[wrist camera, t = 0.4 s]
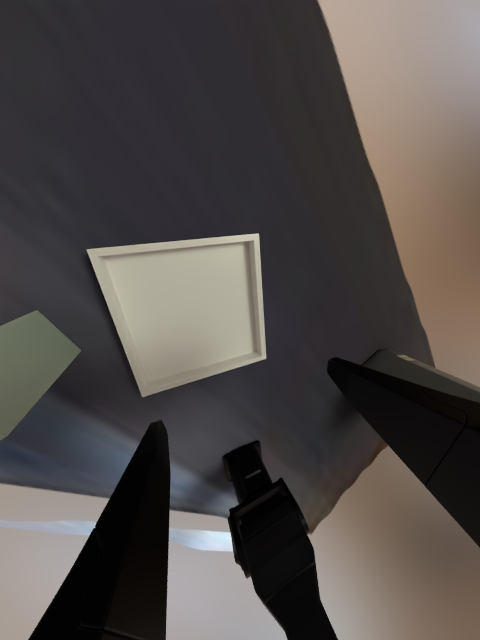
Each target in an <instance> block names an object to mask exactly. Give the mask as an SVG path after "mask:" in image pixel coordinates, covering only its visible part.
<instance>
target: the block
mask: <svg viewBox="0 0 480 640" xmlns="http://www.w3.org/2000/svg"><path fill="white" fill-rule="evenodd" d="M80 352H81V350H80V349H79V348H78V347H77V346H76V345H75V344H74V343H73V342H72V341H70V340H69V339H68V338H67V337H66V336H65V335H64V334H63V333H62V332H61V331H60V330H58V329H57V328H56V327H55V326H54V325H53V324H52V323H51V322H50V321H49V320H48V319H46V318H45V317H44V316H43V315H42V314H41V313H40V312H39V311H38V310H36V311H33V312H31V313H29V314H26V315H24V316H22V317H20V318H17V319H15V320H13V321H10V322H8V323H6V324H4V325H1V326H0V440H2V439H4V438H5V437H7V436H8V435H9V434H10V433H11V432H12V430H13V429H14V428H15V427H16V426H17V425H18V423H19V422H20V421H21V420H22V419H23V418H24V417H25V415H26V414H27V413H28V412H29V411H30V410H31V408H32V407H33V406H34V405H35V404H36V403H37V401H38V400H39V399H40V398H41V397H42V396H43V395H44V393H45V392H46V391H47V390H48V389H49V388H50V386H51V385H52V384H53V383H54V382H55V381H56V380H57V378H58V377H59V376H60V375H61V374H62V373H63V371H64V370H65V369H66V368H67V367H68V366H69V365H70V363H71V362H72V361H73V360H74V359H75V358H76V356H77V355H78V354H79V353H80Z"/></svg>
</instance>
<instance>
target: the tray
mask: <svg viewBox="0 0 480 640" xmlns="http://www.w3.org/2000/svg"><path fill="white" fill-rule="evenodd" d="M87 252H88V255H89V257H90V260H91V263H92V265H93V268H94V271H95V273H96V276H97V279H98V281H99V284H100V287H101V289H102V292H103V294H104V297H105V300H106V302H107V305H108V308H109V310H110V313H111V316H112V318H113V321H114V324H115V326H116V329H117V332H118V334H119V337H120V339H121V342H122V345H123V347H124V350H125V353H126V355H127V358H128V361H129V363H130V366H131V369H132V371H133V374H134V377H135V379H136V382H137V384H138V387H139V390H140V392H141V395H142V397H145V396H148V395H151V394H154V393H158V392H161V391H164V390H167V389H170V388H174V387H177V386H180V385H183V384H186V383H190V382H193V381H196V380H199V379H202V378H206V377H209V376H212V375H215V374H218V373H222V372H225V371H228V370H231V369H234V368H238V367H241V366H244V365H247V364H251V363H254V362H257V361H260V360H263V359H266V346H265V330H264V313H263V296H262V279H261V262H260V245H259V234H248V235H237V236H227V237H216V238H205V239H194V240H183V241H173V242H162V243H151V244H140V245H129V246H119V247H108V248H97V249H87Z"/></svg>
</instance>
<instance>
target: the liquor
mask: <svg viewBox="0 0 480 640" xmlns="http://www.w3.org/2000/svg"><path fill="white" fill-rule="evenodd" d="M362 366H364V367H367V368H370V369H373V370H376V371H379V372H382V373H385V374H388V375H391V376H395V377H398V378H401V379H404V380H407V381H410V382H413V383H415V384H419V385H422V386H425V387H428V388H431V389H434V390H437V391H441V392H444V393H447V394H451V395H454V396H458V397H461V398H465V399H469V400H472V401H476V402H479V403H480V387H478V386H475V385H473V384H471V383H469V382H466V381H464V380H461V379H459V378H457V377H454V376H452V375H450V374H447V373H445V372H443V371H440V370H438V369H436V368H433V367H431V366H429V365H426V364H424V363H422V362H419V361H417V360H415V359H412V358H410V357H407V356H405V355H403V354H400V353H398V352H396V351H393V350H379V351H377V352H376V353H375V354H374V355H373V356H372V357H371V358H370V359H369V360H367V361H366V362H365V363H364V364H363V365H362Z"/></svg>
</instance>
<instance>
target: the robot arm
mask: <svg viewBox="0 0 480 640" xmlns="http://www.w3.org/2000/svg"><path fill="white" fill-rule="evenodd" d="M327 372H328V374H329V376H330V377H331V379H332V380H333V381H334V383H335V384H336V385H337V387H338V388H339V389H340V391H341V392H342V393H343V395H344V396H345V397H346V398H347V400H348V401H349V402H350V403H351V404H352V405H353V406H354V407H355V409H356V410H357V411H358V412H359V413H360V414H361V415H362V416H363V418H364V419H365V420H366V421H367V422H368V423H369V424H370V425H371V426H372V428H373V429H374V430H375V431H376V432H377V433H378V434H379V435H380V437H381V438H382V439H383V440H384V441H385V442H386V443H387V444H388V445H389V447H390V448H391V449H392V450H393V451H394V452H395V453H396V454H397V455H398V457H400V459H401V460H402V461H403V462H404V463H405V464H406V466H407V467H408V468H409V469H410V470H411V471H412V472H413V473H414V474H415V475H416V477H417V478H418V479H419V480H420V481H421V482H422V483H423V484H424V485H425V487H426V488H427V489H428V490H429V491H430V492H431V493H432V495H433V496H434V497H435V498H436V499H437V500H438V501H439V503H440V504H441V505H442V506H443V507H444V508H445V509H446V510H447V511H448V513H449V514H450V515H451V516H452V517H453V518H454V519H455V520H456V521H457V522H458V524H459V525H460V526H461V527H462V528H463V529H464V530H465V532H466V533H467V534H468V535H469V536H470V537H471V538H472V539H473V540H474V541H475V543H476V544H477V545H478V546H479V547H480V403H479V402H476V401H472V400H469V399H465V398H461V397H458V396H454V395H451V394H447V393H444V392H441V391H437V390H434V389H431V388H428V387H425V386H422V385H419V384H415V383H413V382H410V381H407V380H404V379H401V378H398V377H395V376H391V375H388V374H385V373H382V372H379V371H376V370H373V369H370V368H367V367H364V366H361V365H358V364H355V363H352V362H349V361H346V360H343V359H340V358H337V357H334V358H331V359H329V360H328V367H327ZM224 462H225V467H226V472H227V477H228V481H229V482H232V483H233V486H234V490H235V493H236V496H237V500H238V503H239V505H237V506H236V507H234V508H231V509H229V512H230V516H229V517H228V523H229V527H230V532H231V537H232V544H233V552H234V557H235V562H236V563H237V564H239V565H240V566H241V568H242V570H243V571H244V574H245V576H246V578H249V577H250V576H251V578H252V581H253V585H254V589H255V591H256V593H257V595H258V597H259V598H260V600H261V601H262V603H263V604H264V605H265V607H266V608H267V609H268V611H269V612H270V613H271V615H272V616H273V617H274V618H275V620H276V621H277V622H278V624H279V625H280V626H281V627H282V629H283V630H284V631H285V633H286V636H287V639H288V640H338V639H337V637H336V634H335V632H334V630H333V628H332V626H331V623H330V621H329V619H328V616H327V614H326V612H325V610H324V607H323V605H322V603H321V600H320V595H319V587H318V579H317V571H316V563H315V555H314V549H313V546H312V544H311V542H310V540H309V538H308V535H307V534H309V528H308V525H307V523H306V520H305V518H304V516H303V514H302V512H301V510H300V508H299V506H298V504H297V502H296V501H295V499H294V497H293V496H292V494H291V492H290V491H289V489H288V487H287V485H286V484H285V482H284V480H283V479H282V477H281V478H279V480H278V481H276V482H274V483H272V480H271V478H270V476H269V474H268V472H267V470H266V468H265V465H264V463H263V461H262V455H261V444H260V442H259V441H256V442H254V443H251V444H249V445H247V446H245V447H242V448H240V449H238V450H236V451H233V452H231V453H229V454H227V455H225V456H224ZM169 508H170V459H169V446H168V434H167V430H166V428H165V426H164V424H163V422H162V420H156V421H154V422H152V423H151V424H150V425H149V427H148V429H147V431H146V433H145V435H144V436H143V438H142V440H141V442H140V444H139V446H138V447H137V449H136V451H135V453H134V455H133V457H132V459H131V460H130V462H129V464H128V466H127V468H126V470H125V471H124V473H123V475H122V477H121V479H120V481H119V483H118V484H117V486H116V488H115V490H114V492H113V494H112V495H111V497H110V499H109V501H108V503H107V505H106V507H105V509H104V510H103V512H102V514H101V516H100V518H99V520H98V521H97V523H96V525H95V527H96V528H94V529H93V530H92V532H91V534H90V536H89V538H88V540H87V541H86V543H85V545H84V547H83V549H82V551H81V552H80V554H79V556H78V558H77V559H76V561H75V563H74V565H73V567H72V568H71V570H70V572H69V573H68V575H67V577H66V579H65V580H64V582H63V584H62V585H61V587H60V589H59V590H58V592H57V594H56V595H55V597H54V599H53V600H52V602H51V604H50V605H49V607H48V608H47V610H46V612H45V613H44V615H43V617H42V618H41V620H40V621H39V623H38V625H37V627H36V628H35V630H34V631H33V633H32V635H31V636H30V638H29V639H28V640H166V608H167V575H168V542H169Z"/></svg>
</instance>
